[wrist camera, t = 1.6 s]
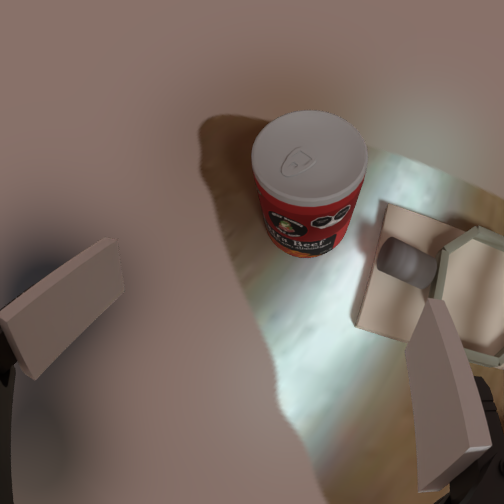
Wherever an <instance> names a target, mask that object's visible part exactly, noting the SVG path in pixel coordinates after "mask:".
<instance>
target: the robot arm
mask: <svg viewBox="0 0 504 504" xmlns="http://www.w3.org/2000/svg"><path fill="white" fill-rule="evenodd" d="M123 292H125V289H124V282H123V276H122V269H121V262H120V254H119V246H118V240H117V239H113V238H108V237H104V238H103V239H101V240H99V241H98V242H96V243H95V244H93V245H92V246H90V247H89V248H87V249H86V250H84V251H83V252H81V253H80V254H78V255H77V256H75V257H74V258H72V259H71V260H69V261H68V262H66V263H65V264H63V265H62V266H60V267H59V268H58V269H56V270H55V271H53V272H52V273H51V274H49V275H48V276H46V277H45V278H43V279H42V280H41V281H39V282H38V283H37V284H34V285H32V286H31V287H29V288H28V289H27V290H25V291H24V293H22V294H20V295H19V296H17V298H16V299H13V300H12V301H11V302H9V303H8V304H7V305H6V306H4V307H3V308H2V309H1V310H0V504H14V503H13V493H12V479H11V418H12V417H11V416H12V403H13V392H14V383H15V375H16V370H15V367H14V364H15V363H16V362H17V361H18V363H19V365H20V367H21V369H22V371H23V372H24V373H25V374H26V375H28V376H29V377H31V378H32V379H34V380H36V379H37V378H38V377H39V376H40V375H41V373H42V372H43V371H44V370H45V369H46V368H47V367H48V366H49V365H50V364H51V363H52V362H53V361H54V360H55V359H56V358H57V357H58V356H59V355H60V354H61V353H62V352H63V351H64V350H65V349H66V348H67V347H68V346H69V345H70V344H71V343H72V342H73V341H74V340H75V339H76V338H77V337H78V336H79V335H80V334H81V333H82V332H83V331H84V330H85V329H86V328H87V327H88V326H89V325H90V324H91V323H92V322H93V321H94V320H95V319H96V318H97V317H98V316H99V315H100V314H101V313H102V312H103V311H104V310H105V309H107V308H108V307H109V306H110V305H111V304H112V303H113V302H114V301H115V300H116V299H117V298H118V297H119V296H120V295H121V294H123ZM405 356H406V362H407V368H408V375H409V382H410V389H411V397H412V405H413V414H414V424H415V435H416V449H417V468H418V492H432V491H440V490H441V489H442V488H444V487H445V486H446V485H448V484H449V483H450V492H449V493H447V494H446V495H445V496H443V497H442V498H440V499H439V500H437V501H436V502H435V503H434V504H439V503H440V504H504V435H503V431H502V427H501V423H500V420H499V416H498V413H497V412H496V410H497V409H496V406H495V403H494V402H493V397H492V393H491V390H490V388H489V386H488V385H487V384H486V382H485V381H484V379H483V378H482V377H477V376H473V373H472V370H471V367H470V365H469V362H468V359H467V356H466V353H465V351H464V348H463V345H462V343H461V340H460V337H459V335H458V332H457V330H456V327H455V325H454V322H453V320H452V318H451V315H450V313H449V311H448V308H447V306H446V304H445V301H444V300H438V299H432V298H427V301H426V303H425V306H424V308H423V311H422V313H421V315H420V318H419V320H418V323H417V325H416V327H415V329H414V332H413V334H412V336H411V338H410V340H409V343H408V345H407V347H406V349H405Z"/></svg>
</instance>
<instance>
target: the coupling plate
mask: <svg viewBox="0 0 504 504" xmlns="http://www.w3.org/2000/svg"><path fill="white" fill-rule="evenodd" d="M427 298H432V299H438V300H444V301H445V304H446V306H447V308H448V311H449V313H450V315H451V318H452V320H453V322H454V325H455V327H456V330H457V332H458V335H459V337H460V340H461V343H462V345H463V348H464V351H465V353H466V356H467V359H468V362H471V363H475V364H479V365H482V366H486V367H495V368H499V369H503V370H504V236H502V235H499V234H497V233H495V232H493V231H490V230H488V229H486V228H484V227H481V226H478V227H476V226H474V227H473V228H471V229H470V230H468V231H467V232H465V231H463V230H460V229H458V228H455V227H453V226H450V225H448V224H445V223H442V222H440V221H437V220H434V219H432V218H429V217H426V216H423V215H421V214H418V213H415V212H412V211H409V210H407V209H404V208H401V207H398V206H395V205H392V204H389V203H388V205H387V207H386V209H385V214H384V219H383V223H382V228H381V233H380V237H379V241H378V246H377V250H376V254H375V258H374V262H373V266H372V270H371V273H370V277H369V281H368V284H367V288H366V292H365V295H364V299H363V302H362V305H361V309H360V312H359V315H358V319H357V322H356V325H355V327H356V328H359V329H362V330H365V331H368V332H372V333H375V334H378V335H381V336H385V337H388V338H391V339H395V340H398V341H401V342H405V343H409V340H410V338H411V336H412V334H413V332H414V329H415V327H416V325H417V323H418V320H419V318H420V315H421V313H422V311H423V308H424V306H425V303H426V301H427Z"/></svg>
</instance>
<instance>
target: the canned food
mask: <svg viewBox="0 0 504 504" xmlns="http://www.w3.org/2000/svg"><path fill="white" fill-rule="evenodd" d="M251 156H252V169H253V174H254V179H255V183H256V187H257V191H258V196H259V200H260V204H261V208H262V212H263V216H264V220H265V225H266V228H267V231H268V235H269V236H270V238H271V240H272V241H273V243H274V244H275V245H276V246H277V247H278V248H280V249H281V250H282V251H284V252H286V253H288V254H290V255H292V256H296V257H300V258H311V257H317V256H320V255H322V254H325V253H327V252H328V251H330V250H332V249H333V248H334V247H335V246H337V245H338V244H339V243H340V241H341V240H342V239H343V237H344V235H345V233H346V231H347V228H348V225H349V222H350V220H351V217H352V214H353V211H354V208H355V205H356V202H357V199H358V196H359V193H360V190H361V187H362V184H363V181H364V177H365V173H366V169H367V161H368V152H367V147H366V144H365V141H364V139H363V138H362V136H361V134H360V132H359V131H358V130H357V129H356V128H355V127H354V126H353V125H352V124H350V123H349V122H348V121H346V120H345V119H343V118H341V117H339V116H337V115H335V114H331V113H329V112H324V111H318V110H302V111H295V112H291V113H287V114H285V115H282V116H280V117H278V118H276V119H274V120H273V121H271V122H270V123H268V124H267V125H266V126H265V127H264V128H263V129H262V130H261V132H260V133H259V134H258V136H257V137H256V139H255V142H254V144H253V148H252V154H251Z"/></svg>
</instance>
